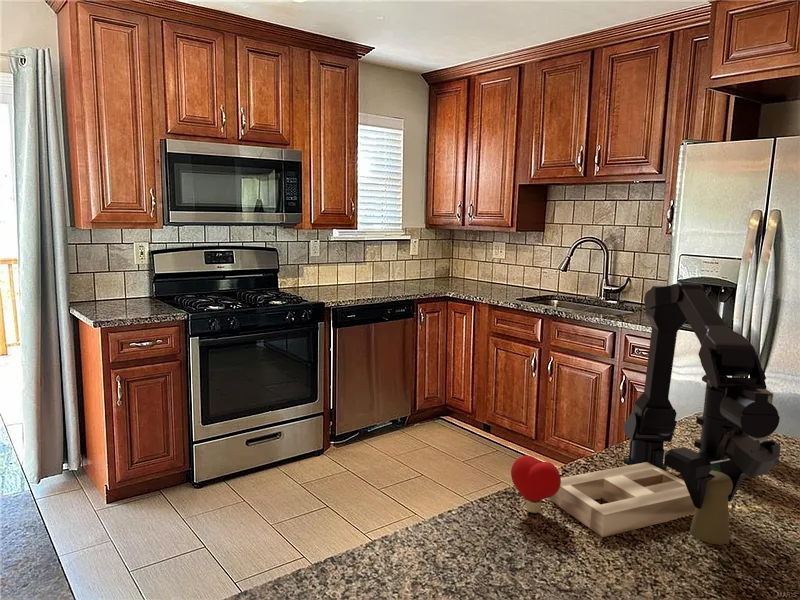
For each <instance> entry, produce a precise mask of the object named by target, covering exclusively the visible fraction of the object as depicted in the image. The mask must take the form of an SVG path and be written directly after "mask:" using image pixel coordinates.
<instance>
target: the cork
mask: <svg viewBox="0 0 800 600" xmlns="http://www.w3.org/2000/svg"><path fill="white" fill-rule="evenodd" d="M709 474H712V475H714V476H715V478H713V479H711V480H709V481H708V482H707V485H706V490H705V495H704V501H703V504H702V508H701V509H698V508H696V509H695V513H694V515H693V517H692V520H691V525H690V528H689V532H690V534H691V535H692V536H693V537H694V538H696V539H697V540H700V541H702V542H704V543H708V544H710V545H711V544H712V545H720V546H721V545H726V544H728V543H729V542H730V540H731V539H730V538H731V537H730V517H729V514H730V513H729V502H728V495H730V494H731V491H732V489H733V483H732V481H731V479H730V477H729V476H727V475H726V474H724V473H721V472H718V471H712V470H711V471H710V473H709Z"/></svg>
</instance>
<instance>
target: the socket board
mask: <svg viewBox="0 0 800 600" xmlns="http://www.w3.org/2000/svg"><path fill="white" fill-rule="evenodd" d="M560 478H561V484H560V488H559V490H558V492H557V493H556V494H555V495H553V496H552V497H549V501H550V502H552V503H554V504H555V505H556V506H558V508H560V509H562V510H563V511H565V512H566V513H567V514H569V515H570V516H572V517H574V519H576V520H577V521H578V522H581V524H583V525H584V526H586V527H588V528H589V529H590V530H591V531H593V532H594V533H596V534H597V535H599V536H600V537H601V538H605V537H609V536H613V535H617V534H621V533H625V532H629V531H633V530H637V529H641V528H645V527H650V526H653V525H657V524H662V523H666V522H670V520H671V521H675V520H677V519H678V518H679V519H682V518H681V517H683V518H686V517H685V516H687V517H690V516H689V515H691V516H694V515H693V514H694V513H695V509H696V507H695V506H694V504H693V502H692V499H691V497H690V494H689V492H688V489H687V487H686V485H685V482H684V480H683V478H679V477H677V476H675V475H674V474H672V473H669V471H665V470H664V469H660V468H658V467H656V466H654V465H652V464H650V463H648V462H645V463H639V464H634V465H630V464H628V465H624V466H619V467H613V468H608V469H602V470H598V471H591V472H586V473H581V474H577V475H576V474H575V475H570V476H564V477H560ZM601 498H602V500H604V499H605V500H604V501H605V502H607V503H603V504H600V502H598V501H596V500H600V499H601ZM679 519H678V520H679Z"/></svg>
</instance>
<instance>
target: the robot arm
mask: <svg viewBox="0 0 800 600" xmlns="http://www.w3.org/2000/svg"><path fill="white" fill-rule="evenodd" d="M643 299H644V300H643V302H644V306H645V309H644V310H645V316H646V318H647V319H648V321H649V323H650V325H651V333H650V340H649V349H648V357H647V365H646V373H645V380H644V381H645V382H644V388H643V389H644V390H643V392H642V393H641V394H640V396H639V397H638V398H637V399H636V401H634V403H633V407H632V412H631V413H630V414H629V416H628V417H627V419H626V420H625V422H624V423H623V433H624V435H626V437H627V438H628V439H629V440H630V441H629V452H628V457H625V458H623V460H622V461H623V462H625V463H626V464H628V465H634V464H639V463H645V462H648V463H650V464H652V465H654V466H656V467H658V468H660V469H662V470H664V469H666V468H670V469H672V470H674V471H676V472H678V473H679V474H680V476H681V479H682V480H684V482H685V485H686V487H687V489H688V492H689V494H690V497H691V499H692V502H693V504H694V506H695V507H696V508H698V509H701V508H702V504H703V501H704V495H705V490H706V485H707V482H708V481H709V480H711V479H713V478H715V476H714V475H712V474H709V473H710V471H711V465H712V463H717V462H719V464H720V472H721V473H724V474H726V475H727V476H729V477H730V479H731V481H732V483H733V489H732V491H731V494H730V495H728V503H729V502H732V501H733V499H734V497H735V496H736V493H737V492H738V490H739V488H740V486H741V484H742V482H743V480H744V478H745V477H746V476H747V477H750V478H756V477H758V476H762V475H764V476H765V475H768V474H769V473H770V471H771V469H772V467H773V466H775V465H779V464H780V462H781V461H780V455H781V445H780V444H779V442H777V441H775V440H774V439H767V441H764V442H762V443H759V442H760V441H759V440H753V439H751V438H750V437H749V436H751V437H754V438H763V437H766V436H768V437H769V436H770V435H772V434H773V433H774V432H775V431H776V430H777V428H778V426H779V424H780V416H779V412H778V409H777V408H776V406H774V405H773V403H772V404H771V403H769V402H768V394H767V393H765V392H763V391H759V390H757V389H766V390H767V384H766V380H767V377H766V374H765V372H764V370H763V367H762V364H761V362H760V361H761V360H760V357H759V354H758V352H757V350H756V348H755V346H754V345H753V344H752V343H751V342H750V341H749V340H748V339H747V338H746V337H745V336H744V335H743V334H740V333H739V332H737V331H734V330H732V329H730V328H729V327H728V326H727V323H725V321H724V320H723V318H722V317H721V315H720V313H719V312H718V310H717V309H716V308H715V306H714V304H713V303H712V302H711V300H710V298H709V297H708V295H707V294H706V288H705V286H704V285H703V284H700V283H699V282H677V283H673V284H671V285H666V286H665V285H663V286H661V285H659V286H658V285H653V286H652V287H651V288H650V289H649V290H647V291H646V292H645V294H644V298H643ZM686 322H687V323H688V324H689V326H690V327H691V328H690V329H692V330H693V332H694V334H695V336H696V338H697V339H698V341H699V344H700V348H699V351H698V354H697V355H698V357H699V361H700V364H701V367H702V369H703V370H704V373H705V374H704V375H703V376H702V377H701V381H702V382H704V383H706V384H705V392H704V403H703V411H702V413H703V414H702V416H699V417H698V416H697V417H696V424H697V425H700V426H701V430H700V439H697V440H694V442H693V443H694V444H693V447H694V448H697V449H699V450H700V449H701V453H699V452H697V451H695V450H693V449H691V448H689V447H688V448H687V447H686V446H681V447H678V448H677V447H676V448H671V449H668V450H667V451H665V449H664V444H665V442H667V443H671V442H672V440H673V437H674V433H675V430H676V427H677V422H676V421H677V420H676V419H677V411H676V409H675V408H674V407H673V404H672V403H671V401H670V399H669V397H670V387H671V380H672V375H673V374H672V373H673V367H674V365H673V364H674V359H675V358H674V357H675V353H676V352H675V350H676V343H677V335H678V332H679V330H680V329H681V328H682V327H683V325H685V323H686Z"/></svg>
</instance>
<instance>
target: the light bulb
mask: <svg viewBox="0 0 800 600" xmlns="http://www.w3.org/2000/svg"><path fill="white" fill-rule="evenodd" d="M510 476H511V481H512V483H513V484H514V487H515V488H516V489H517V492H519V494H520V495H521V496H522V497H523V499H525V500H526V501H525V509H526V510H527V511H528V512H530V514H532V515H535V514H537V513H539V512H541V510H542V502H543V500H545V499H550V497H552V496H553V495H555V494H556V493H557V492H558V490H559V488H560V484H561V478H562V477H561V474H560V472H559V469H558V468H557V467H556V465H554V464H553V463H552V462H550V461H540V460H539V459H537V458H536V457H535V456H532V455H522V456H520V457H518V458H517V459H515V460H514V462H513V463H512V465H511V468H510Z"/></svg>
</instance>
